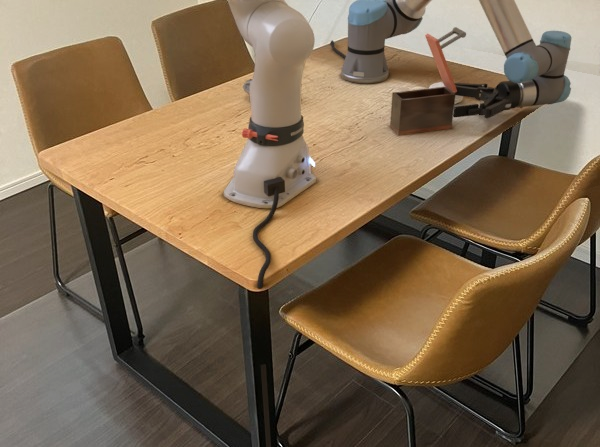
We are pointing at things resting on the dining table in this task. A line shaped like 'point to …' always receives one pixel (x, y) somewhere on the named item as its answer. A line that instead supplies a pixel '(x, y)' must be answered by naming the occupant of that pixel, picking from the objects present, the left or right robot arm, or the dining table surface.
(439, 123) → the chest
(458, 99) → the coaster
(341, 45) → the dining table surface
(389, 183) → the dining table surface
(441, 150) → the dining table surface
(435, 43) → the lid
